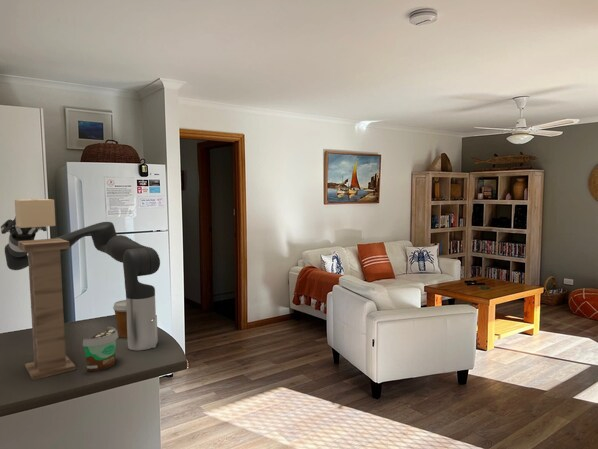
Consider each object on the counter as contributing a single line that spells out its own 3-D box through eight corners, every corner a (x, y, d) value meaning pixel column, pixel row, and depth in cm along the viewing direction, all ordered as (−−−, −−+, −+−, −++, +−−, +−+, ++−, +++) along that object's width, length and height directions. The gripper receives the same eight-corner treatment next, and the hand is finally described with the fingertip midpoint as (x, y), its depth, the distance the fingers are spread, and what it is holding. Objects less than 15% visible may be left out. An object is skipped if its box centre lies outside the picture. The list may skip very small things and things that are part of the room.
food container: (102, 374, 127) (101, 340, 126) (83, 373, 128) (82, 339, 127) (127, 358, 139) (126, 327, 138) (110, 357, 140) (108, 326, 139)
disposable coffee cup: (116, 341, 154) (114, 307, 153) (112, 333, 163) (111, 301, 162) (144, 336, 159) (143, 303, 158) (139, 329, 167) (138, 298, 166)
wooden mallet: (55, 225, 135) (54, 199, 134) (21, 227, 129) (19, 200, 128) (40, 221, 151) (39, 197, 151) (9, 223, 146) (8, 198, 145)
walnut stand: (75, 369, 130) (69, 241, 127) (33, 380, 123) (25, 245, 120) (65, 357, 140) (59, 238, 136) (25, 367, 132) (17, 241, 129)
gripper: (-4, 229, 153) (0, 206, 141) (42, 227, 162) (50, 205, 150) (-2, 249, 151) (3, 227, 139) (46, 245, 160) (54, 224, 148)
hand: (27, 216), depth 145 cm, fingers closed on wooden mallet, 4 cm apart
